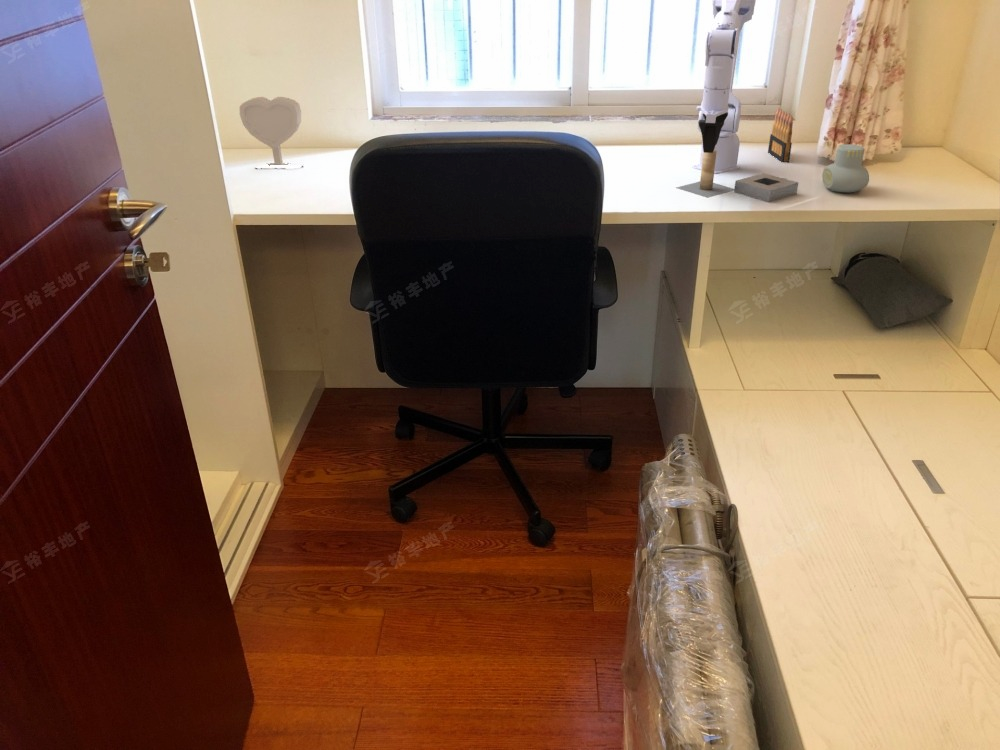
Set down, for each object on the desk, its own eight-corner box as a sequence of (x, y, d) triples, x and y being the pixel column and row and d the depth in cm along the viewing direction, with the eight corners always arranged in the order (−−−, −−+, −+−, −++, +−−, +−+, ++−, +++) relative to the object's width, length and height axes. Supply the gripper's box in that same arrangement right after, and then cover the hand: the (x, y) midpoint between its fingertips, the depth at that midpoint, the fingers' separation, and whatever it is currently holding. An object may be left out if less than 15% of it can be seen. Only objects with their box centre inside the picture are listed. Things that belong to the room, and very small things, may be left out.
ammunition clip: (767, 152, 218) (774, 107, 212) (774, 152, 218) (780, 107, 212) (782, 162, 209) (789, 116, 203) (789, 162, 209) (796, 115, 203)
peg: (705, 185, 192) (709, 148, 187) (715, 188, 189) (719, 150, 185) (696, 188, 190) (700, 150, 186) (706, 191, 188) (710, 153, 183)
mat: (704, 181, 196) (704, 180, 196) (736, 190, 189) (736, 189, 189) (675, 188, 191) (675, 187, 191) (707, 198, 184) (707, 197, 184)
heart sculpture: (248, 169, 215) (235, 100, 206) (254, 164, 219) (243, 96, 210) (304, 169, 214) (294, 99, 205) (309, 164, 218) (300, 96, 209)
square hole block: (761, 185, 192) (763, 173, 190) (796, 195, 185) (798, 182, 183) (733, 193, 187) (735, 180, 186) (768, 203, 180) (770, 190, 178)
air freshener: (869, 196, 183) (878, 152, 178) (833, 197, 183) (841, 153, 178) (851, 182, 192) (860, 141, 187) (817, 183, 193) (825, 141, 188)
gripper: (702, 80, 185) (696, 139, 192) (694, 92, 173) (688, 154, 180) (733, 82, 183) (726, 141, 190) (727, 93, 171) (720, 156, 178)
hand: (710, 148), depth 185 cm, fingers open, 7 cm apart
